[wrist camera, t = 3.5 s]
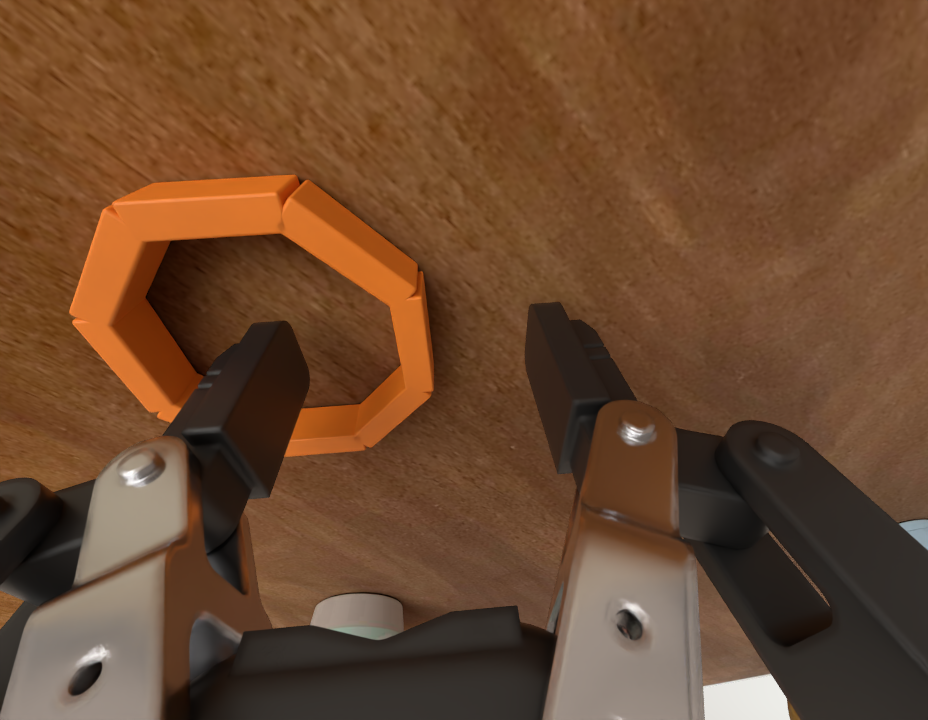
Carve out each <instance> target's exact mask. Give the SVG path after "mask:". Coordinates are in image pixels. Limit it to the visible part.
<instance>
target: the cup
mask: <svg viewBox="0 0 928 720" xmlns="http://www.w3.org/2000/svg"><path fill="white" fill-rule="evenodd" d="M899 525H900V526H901V527H902V528H904V529H905V530H906V531H907V532H908V533H909V534H910V535H911V536H913V537H914V538H915V539H916V540H917V541H918V542H919V543H920V544H922V545H923V546H924V547H925V548H926V549H927V550H928V520H925V519H924V520H913V521H908V522H903V523H899Z"/></svg>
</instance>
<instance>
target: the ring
mask: <svg viewBox="0 0 928 720" xmlns="http://www.w3.org/2000/svg"><path fill="white" fill-rule="evenodd" d="M267 234H283V235H284V236H286V237H287V238H289V239H290V240H292V241H293V242H295V243H296V244H298V245H299V246H301V247H302V248H304V249H305V250H307V251H308V252H309V253H311V254H312V255H314V256H315V257H317V258H318V259H320V260H321V261H323V262H324V263H326V264H327V265H329V266H330V267H332V268H333V269H335V270H336V271H338V272H339V273H341V274H342V275H344V276H345V277H347V278H348V279H350V280H351V281H352V282H354V283H355V284H357V285H358V286H360V287H361V288H363V289H364V290H366V291H367V292H369V293H370V294H372V295H373V296H375V297H376V298H378V299H379V300H381V301H382V302H384V303H385V304H387V305H388V306H390V311H391V316H392V322H393V327H394V332H395V337H396V342H397V347H398V352H399V357H400V363H401V365H400V366H399V367H398V368H397V369H396V370H395V371H394V372H393V373H392V374H391V375H390V376H389V377H388V378H387V379H386V380H385V381H384V382H383V383H382V384H381V385H380V386H379V387H378V388H377V389H376V390H375V391H373V392H372V393H371V394H370V395H369V396H368V397H367V398H366V399H365V400H364V401H363V402H362V403H361V404H354V405H342V406H329V407H316V408H303V409H301V411H300V414H299V417H298V419H297V422H296V425H295V428H294V431H293V433H292V436H291V439H290V442H289V444H288V447H287V450H286V453H285V455H284V457H289V456H301V455H314V454H326V453H338V452H351V451H363V450H366V446H368V447H370V448H371V447H373V446H374V445H375V444H376V443H378V442H379V441H380V440H381V439H382V438H383V437H385V436H386V435H387V434H388V433H389V432H390V431H392V430H393V429H394V428H395V427H396V426H397V425H399V424H400V423H401V422H402V421H403V420H404V419H405V418H407V417H408V416H409V415H410V414H411V413H412V412H414V411H415V410H416V409H417V408H418V407H419V406H421V405H422V404H423V403H424V402H425V401H426V400H428V399H429V398H430V397H431V391H433V390H434V359H433V351H432V342H431V334H430V325H429V317H428V309H427V300H426V292H425V283H424V275H423V272H421V271H419V272H418V265H417V263H416V262H414V261H413V260H412V259H411V258H409V257H408V256H407V255H405V254H404V253H403V252H401V251H400V250H399V249H398V248H396V247H395V246H394V245H392V244H391V243H390V242H389V241H387V240H386V239H385V238H383V237H382V236H381V235H380V234H378V233H377V232H376V231H374V230H373V229H372V228H371V227H369V226H368V225H367V224H365V223H364V222H363V221H361V220H360V219H359V218H358V217H356V216H355V215H354V214H352V213H351V212H350V211H349V210H347V209H346V208H345V207H343V206H342V205H341V204H340V203H338V202H337V201H336V200H334V199H333V198H332V197H331V196H329V195H328V194H327V193H325V192H324V191H323V190H321V189H320V188H319V187H318V186H316V185H315V184H314V183H312V182H311V181H310V180H305V181H304V182H303V183H302V184H301V185H300V183H299V180H298V177H297V176H296V175H280V176H263V177H246V178H229V179H212V180H194V181H177V182H160V183H152V184H150V185H148V186H146V187H144V188H142V189H139V190H137V191H135V192H133V193H131V194H129V195H127V196H124V197H122V198H120V199H118V200H116V201H114V202H113V203H112V205H110V206H108V207H106V208H105V209H103V211H102V214H101V217H100V220H99V223H98V226H97V229H96V232H95V235H94V238H93V241H92V244H91V247H90V250H89V253H88V256H87V259H86V262H85V266H84V269H83V272H82V275H81V278H80V281H79V284H78V287H77V290H76V293H75V296H74V299H73V302H72V305H71V308H70V311H69V313H70V314H71V315H72V316H74V317H77V318H76V319H74V320H73V322H72V323H73V325H74V326H75V327H76V328H77V329H78V331H79V332H80V333H81V334H82V335H83V336H84V338H85V339H86V340H87V341H88V342H89V343H90V344H91V346H92V347H93V348H94V349H95V350H96V351H97V352H98V354H99V355H100V356H101V357H102V358H103V359H104V361H105V362H106V363H107V364H108V365H109V366H110V367H111V369H112V370H113V371H114V372H115V373H116V374H117V376H118V377H119V378H120V379H121V380H122V381H123V382H124V384H125V385H126V386H127V387H128V388H129V389H130V390H131V392H132V393H133V394H134V395H135V396H136V397H137V399H138V400H139V401H140V402H141V403H142V404H143V405H144V407H145V408H146V409H147V410H148V411H149V412H159V413H158V415H157V417H158V418H159V419H162V420H165V421H168V422H170V423H172V421H173V420H174V418H175V417H176V416H177V414H178V413H179V411H180V410H181V408H182V407H183V406H184V404H185V403H186V401H187V400H188V398H189V397H190V396H191V394H192V393H193V391H194V390H195V389H198V384H199V383H200V381H201V380H202V378H203V377H204V376H202V375H200V374H198V373H196V371H195V370H194V368H193V367H192V365H191V364H190V362H189V361H188V359H187V358H186V357H185V355H184V354H183V352H182V351H181V349H180V348H179V346H178V345H177V343H176V342H175V340H174V339H173V337H172V336H171V334H170V333H169V331H168V330H167V328H166V327H165V326H164V324H163V323H162V321H161V320H160V318H159V317H158V315H157V314H156V312H155V311H154V309H153V308H152V306H151V305H150V303H149V302H148V300H147V299H146V298H145V297H146V294H147V292H148V290H149V288H150V286H151V283H152V281H153V279H154V277H155V275H156V272H157V270H158V268H159V266H160V264H161V261H162V259H163V257H164V255H165V253H166V250H167V248H168V246H169V244H170V242H171V241H172V240H188V239H203V238H219V237H235V236H251V235H267Z"/></svg>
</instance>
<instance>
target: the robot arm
mask: <svg viewBox="0 0 928 720" xmlns="http://www.w3.org/2000/svg"><path fill="white" fill-rule="evenodd" d="M525 364H526V371H527V375H528V378H529V381H530V384H531V388H532V391H533V394H534V398H535V401H536V404H537V407H538V411H539V414H540V417H541V421H542V424H543V427H544V430H545V434H546V437H547V440H548V444H549V447H550V450H551V454H552V457H553V460H554V463H555V467H556V470H557V473H558V474H566V473H573V476H574V479H575V482H576V485H577V487H576V490H575V494H574V498H573V503H572V508H571V513H570V517H569V522H568V527H567V532H566V537H565V541H564V546H563V551H562V556H561V560H560V565H559V570H558V574H557V579H556V583H555V587H554V591H553V595H552V599H551V603H550V608H549V612H548V617H547V621H546V626H545V630H544V629H542V628H539V627H536V626H534V625H531V624H526V623H522V622H520V619H519V613H518V607H517V606H506V607H496V608H485V609H475V610H464V611H454V612H449V613H447V614H445V615H442V616H440V617H437V618H435V619H432V620H430V621H428V622H425V623H423V624H420V625H418V626H415V627H413V628H411V629H408V630H406V631H403V632H401V633H398V634H396V635H394V636H391V637H389V638H386V639H382V640H374V639H369V638H365V637H361V636H356V635H352V634H348V633H344V632H339V631H335V630H331V629H327V628H323V627H318V626H314V625H307V626H296V627H286V628H275V629H273V628H272V625H271V623H270V620H269V618H268V616H267V614H266V612H265V610H264V608H263V606H262V603H261V600H260V595H259V589H258V582H257V576H256V569H255V562H254V555H253V549H252V542H251V535H250V528H249V522H248V518H247V516H246V515H245V514H244V512H243V511H244V508H245V506H246V503H247V501H248V499H257V498H268V497H270V494H271V491H272V489H273V486H274V483H275V480H276V478H277V475H278V472H279V469H280V466H281V464H282V461H283V458H284V455H285V453H286V450H287V447H288V444H289V442H290V439H291V436H292V433H293V431H294V428H295V425H296V422H297V419H298V417H299V414H300V411H301V408H302V406H303V403H304V400H305V397H306V395H307V392H308V389H309V383H310V376H309V369H308V366H307V363H306V361H305V359H304V356H303V354H302V351H301V349H300V346H299V344H298V342H297V339H296V337H295V334H294V332H293V329H292V327H291V326H290V324H289V323H288V322H287V321H274V322H260V323H253V324H252V325H251V326H250V328H249V329H248V331H247V332H246V334H245V335H244V337H243V338H242V340H241V341H240V343H239V344H234V345H233V346H231V347H230V348H229V349H227V350H226V351H225V352H224V353H222V354H221V355H220V356H218V357H217V358H216V360H215V361H214V363H213V364H212V366H211V367H210V368H209V370H208V371H207V376H204V377H203V378H202V380H201V381H200V383H199V384H198V389H195V390H194V391H193V393H192V394H191V396H190V397H189V398H188V400H187V401H186V403H185V404H184V406H183V407H182V408H181V410H180V411H179V413H178V414H177V416H176V417H175V418H174V420H173V421H172V423H171V424H170V426H169V427H168V428H167V430H166V431H165V433H164V434H163V436H159V437H154V438H150V439H147V440H144V441H142V442H139V443H137V444H135V445H133V446H131V447H129V448H128V449H126V450H125V451H123V452H121V453H120V454H119V455H117V456H116V457H115V458H114V459H112V460H111V461H110V462H109V463H108V464H107V465H106V466H105V467H104V468H103V470H102V471H101V472H100V474H99V475H98V477H97V479H94V480H91V481H88V482H84V483H81V484H78V485H75V486H72V487H69V488H66V489H62V490H59V491H56V492H52V491H51V490H49V489H48V488H46V487H45V486H43V485H42V484H41V483H39V482H38V481H36V480H34V479H32V478H16V479H11V480H7V481H3V482H0V590H1V591H3V592H5V593H8V594H10V595H12V596H14V597H17V598H19V599H21V600H24V602H23V603H22V605H21V606H20V607H19V608H18V609H17V610H16V612H15V613H14V614H13V615H12V616H11V618H10V619H9V620H8V621H7V622H6V624H5V625H4V626H3V627H2V628H1V630H0V720H705V719H704V718H705V717H704V698H703V679H702V660H701V641H700V622H699V603H698V584H697V566H696V558H697V560H698V561H699V563H700V565H701V566H702V568H703V569H704V571H705V572H706V574H707V575H708V577H709V578H710V580H711V582H712V583H713V585H714V586H715V588H716V589H717V591H718V592H719V594H720V595H721V597H722V599H723V600H724V602H725V603H726V605H727V606H728V608H729V609H730V611H731V613H732V614H733V616H734V617H735V619H736V620H737V622H738V623H739V625H740V626H741V628H742V630H743V631H744V633H745V634H746V636H747V637H748V639H749V640H750V642H751V643H752V645H753V647H754V648H755V650H756V651H757V653H758V654H759V656H760V657H761V659H762V661H763V662H764V664H765V665H766V667H767V668H768V670H769V671H770V673H771V674H772V676H773V678H774V679H775V681H776V682H777V684H778V685H779V687H780V688H781V690H782V692H783V693H784V695H785V696H786V698H787V699H788V701H789V702H790V704H791V705H792V707H793V709H794V710H795V712H796V713H797V715H798V716H799V718H800V719H801V720H928V550H927V549H926V548H925V547H924V546H923V545H922V544H920V543H919V542H918V541H917V540H916V539H915V538H914V537H913V536H911V535H910V534H909V533H908V532H907V531H906V530H905V529H904V528H902V527H901V526H900V525H899V524H898V523H897V522H896V521H895V520H893V519H892V518H891V517H890V516H889V515H888V514H887V513H886V512H884V511H883V510H882V509H881V508H880V507H879V506H878V505H877V504H875V503H874V502H873V501H872V500H871V499H870V498H869V497H868V496H866V495H865V494H864V493H863V492H862V491H861V490H860V489H859V488H857V487H856V486H855V485H854V484H853V483H852V482H851V481H850V480H848V479H847V478H846V477H845V476H844V475H843V474H842V473H841V472H839V471H838V470H837V469H836V468H835V467H834V466H833V465H832V464H830V463H829V462H828V461H827V460H826V459H825V458H824V457H823V456H821V455H820V454H819V453H818V452H817V451H816V450H815V449H814V448H812V447H811V446H810V445H809V444H808V443H807V442H805V441H804V440H803V439H801V438H800V437H798V436H797V435H795V434H794V433H792V432H790V431H788V430H786V429H784V428H782V427H779V426H777V425H774V424H771V423H767V422H762V421H754V420H747V421H741V422H737V423H736V424H734V425H732V426H731V427H730V428H729V430H728V431H727V433H726V434H725V436H724V437H722V436H717V435H711V434H705V433H699V432H694V431H688V430H683V429H679V428H676V427H674V426H673V424H672V422H671V421H670V420H669V419H668V418H667V417H666V416H665V415H664V414H663V413H662V412H660V411H659V410H657V409H656V408H654V407H652V406H650V405H647V404H645V403H642V402H639V401H637V399H636V397H635V396H634V394H633V392H632V391H631V389H630V387H629V386H628V384H627V382H626V381H625V379H624V377H623V376H622V374H621V372H620V371H619V369H618V367H617V366H616V364H615V362H614V361H613V359H612V358H610V354H609V352H608V351H607V349H606V347H604V344H603V342H602V341H601V339H600V337H599V336H598V334H597V332H596V331H595V330H594V329H593V328H591V327H590V326H589V325H587V324H586V323H585V322H583V321H582V320H569V318H568V316H567V314H566V312H565V310H564V308H563V306H562V305H561V303H560V302H553V303H539V304H531V305H530V307H529V311H528V322H527V334H526V345H525ZM769 531H771V532H772V533H773V535H774V536H775V537H776V538H777V539H778V541H779V542H780V543H781V544H782V545H783V546H784V548H785V549H786V550H787V551H788V552H789V554H790V555H791V556H792V557H793V558H794V560H795V561H796V562H797V563H798V564H799V566H800V567H801V568H802V569H803V570H804V572H805V573H806V574H807V575H808V576H809V577H810V579H811V580H812V581H813V582H814V583H815V585H816V586H817V587H818V588H819V589H820V591H821V592H822V593H823V595H824V596H825V598H826V599H827V601H828V603H829V605H830V607H829V606H828V604H827V603H826V602H825V601H824V600H823V598H822V597H821V596H820V595H819V594H818V592H817V591H816V590H815V589H814V588H813V586H812V585H811V584H810V583H809V582H808V580H807V579H806V578H805V577H804V576H803V574H802V573H801V572H800V571H799V570H798V568H797V567H796V566H795V565H794V564H793V562H792V561H791V560H790V559H789V558H788V556H787V555H786V554H785V553H784V551H783V550H782V549H781V548H780V547H779V545H778V544H777V543H776V542H775V541H774V539H773V538H772V537H771V536H770V535H769V533H768V532H769ZM681 537H683V538H684V539H682V538H681ZM695 557H696V558H695Z"/></svg>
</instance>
